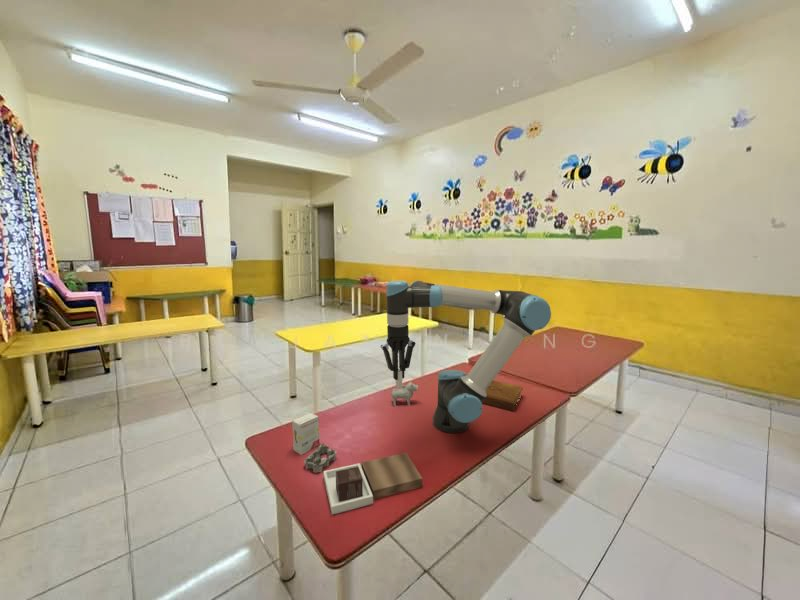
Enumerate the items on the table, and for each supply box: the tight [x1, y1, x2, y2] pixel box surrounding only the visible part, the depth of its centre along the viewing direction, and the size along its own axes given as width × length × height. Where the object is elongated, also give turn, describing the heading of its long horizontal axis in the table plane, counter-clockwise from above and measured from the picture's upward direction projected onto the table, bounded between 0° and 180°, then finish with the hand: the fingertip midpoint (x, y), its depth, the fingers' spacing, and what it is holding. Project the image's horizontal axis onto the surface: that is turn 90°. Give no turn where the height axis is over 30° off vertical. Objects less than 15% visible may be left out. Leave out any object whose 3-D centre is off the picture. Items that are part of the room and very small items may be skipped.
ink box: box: [291, 412, 321, 456], centre depth 126 cm, size 9×5×12 cm, turn 140°
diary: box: [482, 380, 524, 412], centre depth 168 cm, size 23×19×6 cm
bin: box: [322, 462, 374, 516], centre depth 105 cm, size 12×16×2 cm
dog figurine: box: [390, 381, 419, 407], centre depth 161 cm, size 5×13×11 cm, turn 96°
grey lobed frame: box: [303, 442, 338, 474], centre depth 118 cm, size 11×8×4 cm
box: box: [336, 467, 363, 502], centre depth 103 cm, size 6×6×7 cm
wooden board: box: [361, 452, 423, 501], centre depth 110 cm, size 16×14×3 cm
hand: (399, 387), depth 125 cm, fingers closed
